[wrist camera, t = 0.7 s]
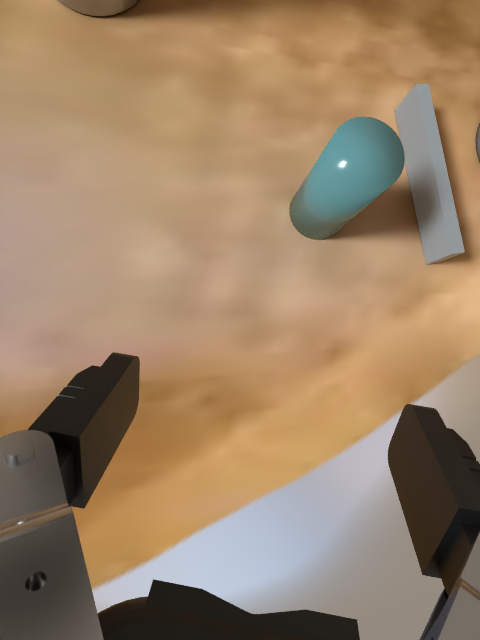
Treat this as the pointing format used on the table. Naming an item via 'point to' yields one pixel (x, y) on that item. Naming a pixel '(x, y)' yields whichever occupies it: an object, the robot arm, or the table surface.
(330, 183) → the teal cylinder
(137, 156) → the table surface
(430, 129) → the low wall
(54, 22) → the table surface
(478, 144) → the coaster
